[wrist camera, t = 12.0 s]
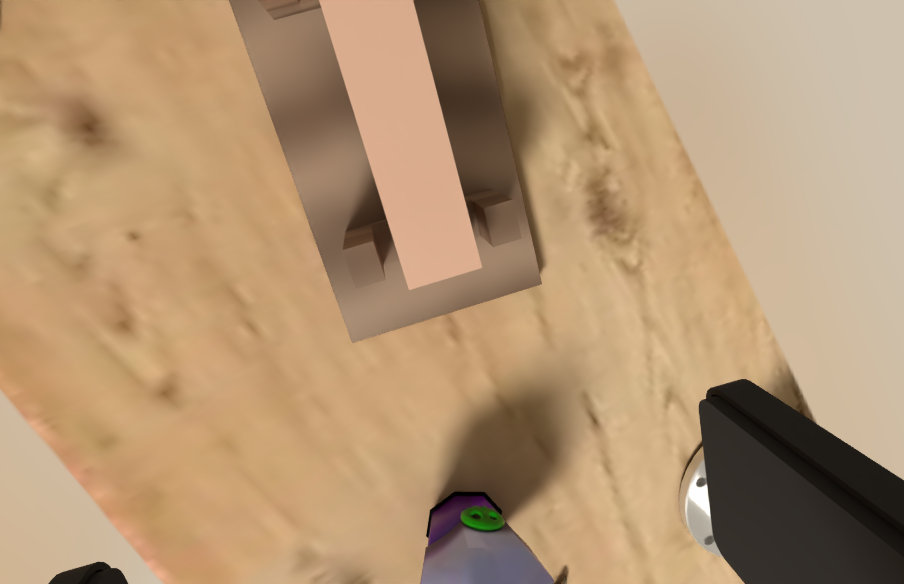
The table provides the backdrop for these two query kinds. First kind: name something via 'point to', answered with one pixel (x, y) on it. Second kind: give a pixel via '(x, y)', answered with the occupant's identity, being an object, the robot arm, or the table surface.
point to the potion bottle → (476, 545)
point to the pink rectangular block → (404, 135)
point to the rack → (349, 172)
